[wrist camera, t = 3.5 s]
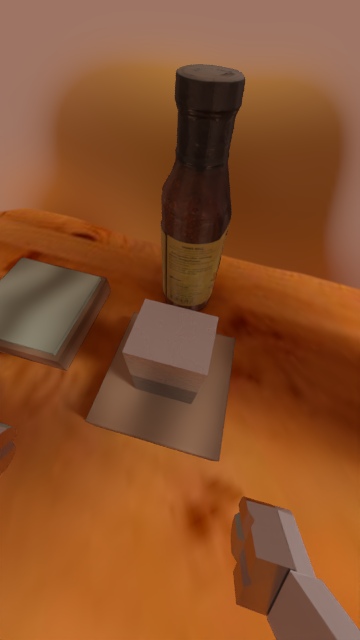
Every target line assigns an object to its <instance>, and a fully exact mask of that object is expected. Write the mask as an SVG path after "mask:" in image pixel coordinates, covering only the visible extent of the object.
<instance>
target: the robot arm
mask: <svg viewBox="0 0 360 640" xmlns="http://www.w3.org/2000/svg"><path fill="white" fill-rule="evenodd" d="M15 437H16V428H14V427H12V426H9V425H6V424H3V423H0V475H1V474H2V473H3V472H4V471H5V470H6V469H7V467H8V466H9V464H10V463H11V461H12V460H13V457H14V454H15V445H14V443H13V441H12V440H13V439H14V438H15ZM239 511H240V512H239V513H237V514H236V515H235V516H234V519H233V522H232V528H231V552H232V555H233V556H234V558H235V560H236V562H237V563H236V566H235V569H234V571H233V575H234V586H235V597H236V604H237V605H239V606H242V607H245V608H247V609H250V610H252V611H255V612H258V613H260V614H263V615H266V616H268V617H267V620H268V622H269V624H270V627H271V629H272V631H273V633H274V635H275V637H276V640H360V630H359V629H358V627H357V626H356V625H355V623H354V622H353V621H352V619H351V618H350V617H349V615H348V614H347V613H346V612H345V610H344V609H343V608H342V606H341V605H340V604H339V602H338V601H337V600H336V598H335V597H334V596H333V594H332V593H331V592H330V590H329V589H328V588H327V586H326V585H325V584H324V582H323V581H322V580H320V579H317V578H316V576H315V574H314V571H313V568H312V565H311V563H310V560H309V557H308V554H307V552H306V549H305V546H304V543H303V541H302V538H301V535H300V532H299V530H298V527H297V524H296V521H295V519H294V516H293V514H292V512H291V511H290V510H287V509H284V508H281V507H277V506H273V505H271V504H268V503H264V502H261V501H257V500H254V499H251V498H247V497H244V496H243V497H242V498H241V500H240V503H239Z"/></svg>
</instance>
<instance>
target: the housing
mask: <svg viewBox="0 0 360 640" xmlns="http://www.w3.org/2000/svg"><path fill="white" fill-rule="evenodd" d="M218 319H219V317H216V316H212V315H208V314H204V313H200V312H197V311H193V310H189V309H185V308H181V307H177V306H173V305H169V304H165V303H161V302H157V301H153V300H149V299H145V300H144V303H143V305H142V307H141V310H140V312H139V314H138V317H137V319H136V321H135V323H134V326H133V328H132V330H131V333H130V335H129V337H128V340H127V342H126V344H125V347H124V349H123V351H122V353H123V356H124V359H125V361H126V364H127V366H128V369H129V372H130V374H131V377H132V380H133V382H134V385H135V387H136V389H139V390H142V391H146V392H149V393H153V394H156V395H160V396H163V397H167V398H170V399H174V400H177V401H181V402H185V403H188V404H192V402H193V400H194V399H195V397H196V395H197V393H198V392H199V390H200V388H201V386H202V384H203V383H204V381H205V379H206V377H207V376H208V371H209V366H210V360H211V355H212V350H213V345H214V340H215V334H216V329H217V324H218Z"/></svg>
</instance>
